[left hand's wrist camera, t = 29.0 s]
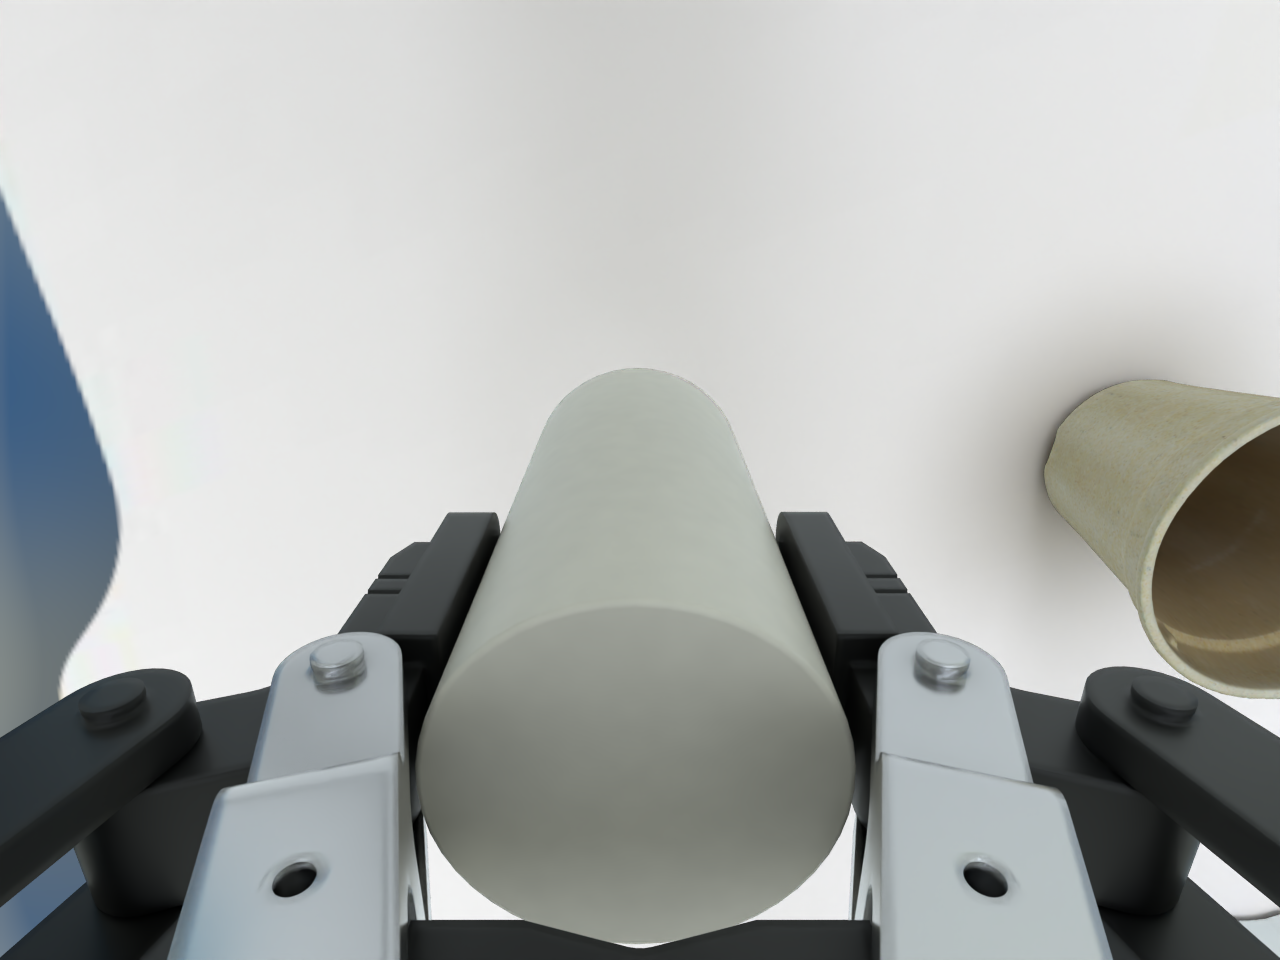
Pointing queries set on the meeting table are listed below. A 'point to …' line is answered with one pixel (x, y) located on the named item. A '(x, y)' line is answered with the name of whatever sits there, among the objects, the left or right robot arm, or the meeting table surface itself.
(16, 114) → the meeting table surface
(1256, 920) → the right robot arm
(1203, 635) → the flower pot
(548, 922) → the cylinder
